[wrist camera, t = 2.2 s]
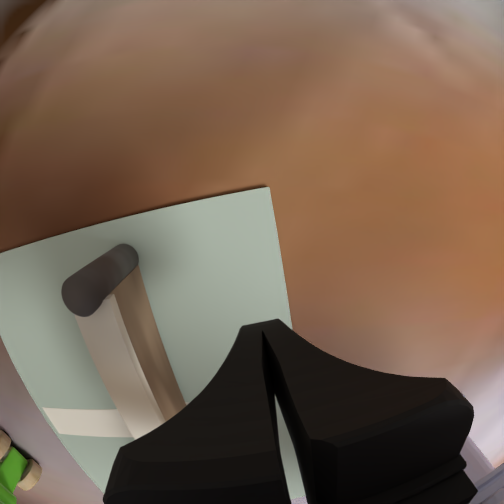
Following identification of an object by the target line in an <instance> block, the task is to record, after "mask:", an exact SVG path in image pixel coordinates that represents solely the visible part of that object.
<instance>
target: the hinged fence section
mask: <svg viewBox="0 0 504 504" xmlns="http://www.w3.org/2000/svg"><path fill="white" fill-rule="evenodd" d="M138 262H139V257H138V254H137V252H136V250H135V249H134V248H133V247H132V246H130V245H128V244H119V245H117V246H115V247H114V248H112V249H110V250H109V251H107V252H106V253H104V254H103V255H101V256H100V257H98V258H97V259H95V260H94V261H92V262H91V263H89V264H88V265H86V266H85V267H83V268H82V269H80V270H79V271H77V272H76V273H74V274H73V275H71V276H70V277H68V278H67V279H66V280H65V281H64V283H63V285H62V289H61V294H62V299H63V301H64V304H65V305H66V307H67V308H68V309H69V310H70V311H71V312H72V313H73V314H74V315H75V318H76V321H77V323H78V326H79V328H80V331H81V333H82V336H83V338H84V341H85V343H86V346H87V348H88V350H89V352H90V355H91V357H92V359H93V361H94V364H95V366H96V368H97V370H98V372H99V374H100V376H101V378H102V381H103V383H104V385H105V387H106V389H107V391H108V392H109V394H110V396H111V398H112V400H113V402H114V404H115V406H116V408H117V409H118V411H119V413H120V415H121V417H122V418H123V420H124V422H125V424H126V425H127V427H128V429H129V430H130V432H131V434H132V435H133V437H134V439H135V440H136V439H138V438H140V437H141V436H143V435H145V434H147V433H149V432H151V431H152V430H154V429H156V428H157V427H159V426H160V425H162V424H163V423H165V422H166V421H168V420H169V419H170V418H172V417H173V416H174V415H176V414H177V413H178V412H180V411H181V410H182V409H183V408H184V407H185V406H187V405H186V403H185V401H184V398H183V396H182V393H181V391H180V388H179V386H178V383H177V381H176V378H175V375H174V373H173V370H172V367H171V365H170V362H169V359H168V357H167V354H166V351H165V348H164V345H163V343H162V340H161V337H160V334H159V331H158V328H157V325H156V322H155V319H154V316H153V312H152V309H151V306H150V303H149V300H148V296H147V293H146V289H145V286H144V283H143V279H142V276H141V272H140V268H139V265H138Z"/></svg>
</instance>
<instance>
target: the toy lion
mask: <svg viewBox="0 0 504 504" xmlns="http://www.w3.org/2000/svg"><path fill="white" fill-rule="evenodd" d="M10 444H11V439H10V438H9V437H8V436H7V435H6V434H5V433H4V432H3V431H2V430H0V504H16V497H15V496H14V495H13V491H14V489H15V487H16V485H17V486H18V487H20V488H21V489H22V490H24V491H26V490H29V489H31V488H32V487H33V486H34V485H35V484H36V483H37V481H38V480H39V478H40V476H41V473H42V468H41V466H40V465H38V464H37V463H36V462H35V461H34V460H33V459H28V460H26V459H25V458H24V457H23V456H22V455H21V454H20V453H19V452H18V451H17V450H16V449H15V448H14V447H12V446H11V447H9V446H10Z"/></svg>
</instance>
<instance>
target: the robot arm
mask: <svg viewBox="0 0 504 504" xmlns="http://www.w3.org/2000/svg"><path fill="white" fill-rule="evenodd" d="M275 396H276V399H277V402H278V405H279V407H280V410H281V413H282V416H283V419H284V421H285V424H286V427H287V430H288V432H289V435H290V438H291V441H292V444H293V447H294V450H295V453H296V457H297V462H298V466H299V470H300V474H301V478H302V482H303V486H304V491H305V495H306V499H307V503H308V504H504V463H503V464H501V465H500V466H499V467H497V468H496V469H495V468H494V467H493V465H492V464H491V463H490V462H489V460H488V459H487V458H486V457H485V455H484V454H483V453H482V452H481V450H480V449H479V448H478V447H477V446H476V444H475V443H474V442H473V441H472V439H471V438H470V437H469V436H468V434H469V432H470V429H471V426H472V422H473V418H474V410H473V406H472V405H471V404H470V403H469V401H468V400H467V399H466V398H465V396H464V395H463V394H461V393H460V391H459V390H458V389H457V388H456V387H454V386H453V385H452V384H451V383H450V382H449V381H448V380H447V379H446V378H427V377H409V376H401V375H395V374H388V373H384V372H379V371H374V370H371V369H367V368H364V367H360V366H357V365H354V364H351V363H348V362H346V361H343V360H341V359H339V358H336V357H334V356H332V355H330V354H328V353H326V352H324V351H322V350H320V349H319V348H317V347H315V346H314V345H312V344H311V343H309V342H308V341H306V340H305V339H303V338H302V337H301V336H299V335H298V334H297V333H295V332H294V331H293V330H292V329H290V328H289V327H288V326H287V325H286V324H285V323H284V322H283V321H281V320H280V319H273V320H268V321H263V322H258V323H253V324H248V325H243V326H241V328H240V329H239V332H238V335H237V337H236V340H235V342H234V344H233V346H232V348H231V350H230V352H229V353H228V355H227V357H226V359H225V361H224V362H223V364H222V365H221V367H220V368H219V370H218V371H217V373H216V374H215V376H214V377H213V378H212V380H211V381H210V382H209V383H208V385H207V386H206V387H205V388H204V389H203V390H202V391H201V392H200V394H198V395H197V396H196V397H195V398H194V399H193V400H192V401H191V402H190V403H189V404H188V405H187V406H185V407H184V408H183V409H182V410H181V411H180V412H178V413H177V414H176V415H174V416H173V417H172V418H170V419H169V420H168V421H166V422H165V423H163V424H162V425H160V426H159V427H157V428H156V429H154V430H152V431H151V432H149V433H147V434H145V435H143V436H141V437H140V438H138V439H136V440H134V441H132V442H130V443H128V444H126V445H124V446H122V447H120V448H119V451H118V453H117V456H116V458H115V460H114V463H113V466H112V469H111V472H110V476H109V479H108V482H107V486H106V489H105V493H104V496H103V502H104V504H291V500H290V495H289V491H288V486H287V481H286V476H285V472H284V467H283V462H282V457H281V451H280V444H279V433H278V423H277V412H276V402H275Z"/></svg>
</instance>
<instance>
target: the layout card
mask: <svg viewBox="0 0 504 504" xmlns="http://www.w3.org/2000/svg"><path fill="white" fill-rule="evenodd" d="M119 244H128V245H130V246H132V247H133V248H134V249H135V250H136V252H137V254H138V257H139V262H138V265H139V268H140V272H141V276H142V279H143V283H144V286H145V289H146V293H147V296H148V300H149V303H150V306H151V309H152V312H153V316H154V319H155V322H156V325H157V328H158V331H159V334H160V337H161V340H162V343H163V345H164V348H165V351H166V354H167V357H168V359H169V362H170V365H171V367H172V370H173V373H174V375H175V378H176V381H177V383H178V386H179V388H180V391H181V393H182V396H183V398H184V401H185V403H186V405H188V404H189V403H190V402H191V401H192V400H193V399H194V398H195V397H196V396H197V395H198V394H200V392H201V391H202V390H203V389H204V388H205V387H206V386H207V385H208V383H209V382H210V381H211V380H212V378H213V377H214V376H215V374H216V373H217V371H218V370H219V368H220V367H221V365H222V364H223V362H224V361H225V359H226V357H227V355H228V353H229V352H230V350H231V348H232V346H233V344H234V342H235V340H236V337H237V335H238V332H239V329H240V328H241V326H243V325H248V324H253V323H258V322H263V321H268V320H273V319H280V320H281V321H283V322H284V323H285V324H286V325H287V326H288V327H289V328H290V329H292V323H291V317H290V310H289V303H288V297H287V290H286V284H285V278H284V271H283V265H282V259H281V253H280V247H279V241H278V235H277V229H276V223H275V217H274V211H273V206H272V200H271V194H270V189H269V187H264V188H258V189H253V190H247V191H242V192H237V193H232V194H227V195H221V196H216V197H212V198H207V199H202V200H197V201H192V202H188V203H183V204H179V205H174V206H170V207H165V208H161V209H157V210H152V211H148V212H144V213H140V214H136V215H132V216H128V217H124V218H120V219H116V220H112V221H108V222H104V223H100V224H97V225H93V226H89V227H85V228H82V229H78V230H75V231H71V232H68V233H64V234H61V235H57V236H54V237H50V238H47V239H44V240H40V241H37V242H34V243H31V244H27V245H24V246H21V247H18V248H15V249H12V250H9V251H6V252H3V253H0V336H1V338H2V340H3V343H4V345H5V347H6V349H7V351H8V353H9V355H10V358H11V360H12V362H13V364H14V366H15V368H16V370H17V371H18V373H19V375H20V377H21V379H22V381H23V383H24V385H25V386H26V388H27V390H28V392H29V393H30V395H31V397H32V398H33V400H34V402H35V403H36V405H37V407H38V408H39V410H40V412H41V413H42V415H43V416H44V418H45V419H46V421H47V422H48V424H49V425H50V427H51V428H52V430H53V431H54V433H55V434H56V435H57V437H58V438H59V440H60V441H61V442H62V444H63V445H64V446H65V448H66V449H67V450H68V452H69V453H70V454H71V456H72V457H73V458H74V459H75V461H76V462H77V463H78V464H79V466H80V467H81V468H82V469H83V471H84V472H85V473H86V474H87V475H88V476H89V478H90V479H91V480H92V481H93V482H94V483H95V484H96V485H97V487H98V488H99V489H100V490H101V491H102V492H103V493H105V489H106V486H107V482H108V479H109V476H110V472H111V469H112V466H113V463H114V460H115V458H116V456H117V453H118V451H119V448H120V447H122V446H124V445H126V444H128V443H130V442H132V441H134V440H135V439H134V437H133V435H132V434H131V432H130V430H129V429H128V427H127V425H126V424H125V422H124V420H123V418H122V417H121V415H120V413H119V411H118V409H117V408H116V406H115V404H114V402H113V400H112V398H111V396H110V394H109V392H108V391H107V389H106V387H105V385H104V383H103V381H102V378H101V376H100V374H99V372H98V370H97V368H96V366H95V364H94V361H93V359H92V357H91V355H90V352H89V350H88V348H87V346H86V343H85V341H84V338H83V336H82V333H81V331H80V328H79V326H78V323H77V321H76V318H75V315H74V314H73V313H72V312H71V311H70V310H69V309H68V308H67V307H66V305H65V304H64V301H63V299H62V294H61V289H62V285H63V283H64V281H65V280H66V279H67V278H68V277H70V276H71V275H73V274H74V273H76V272H77V271H79V270H80V269H82V268H83V267H85V266H86V265H88V264H89V263H91V262H92V261H94V260H95V259H97V258H98V257H100V256H101V255H103V254H104V253H106V252H107V251H109V250H110V249H112V248H114V247H115V246H117V245H119ZM275 402H276V412H277V423H278V433H279V444H280V451H281V457H282V462H283V467H284V472H285V476H286V481H287V486H288V491H289V495H290V499H294V498H299V497H303V496H306V495H305V491H304V486H303V482H302V478H301V474H300V470H299V466H298V462H297V457H296V453H295V450H294V447H293V444H292V441H291V438H290V435H289V432H288V430H287V427H286V424H285V421H284V419H283V416H282V413H281V410H280V407H279V405H278V402H277V399H276V396H275Z"/></svg>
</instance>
